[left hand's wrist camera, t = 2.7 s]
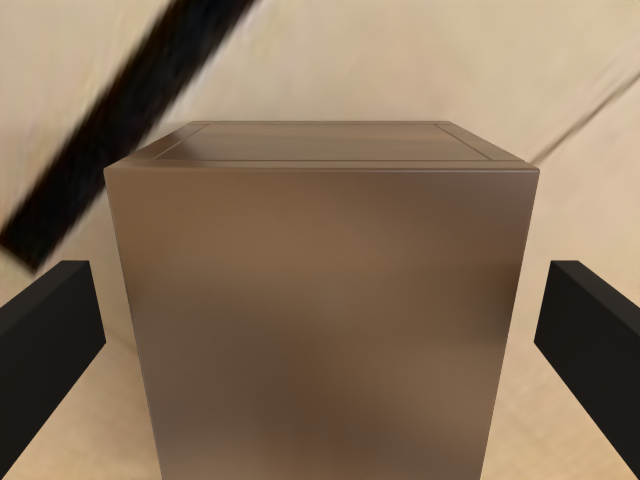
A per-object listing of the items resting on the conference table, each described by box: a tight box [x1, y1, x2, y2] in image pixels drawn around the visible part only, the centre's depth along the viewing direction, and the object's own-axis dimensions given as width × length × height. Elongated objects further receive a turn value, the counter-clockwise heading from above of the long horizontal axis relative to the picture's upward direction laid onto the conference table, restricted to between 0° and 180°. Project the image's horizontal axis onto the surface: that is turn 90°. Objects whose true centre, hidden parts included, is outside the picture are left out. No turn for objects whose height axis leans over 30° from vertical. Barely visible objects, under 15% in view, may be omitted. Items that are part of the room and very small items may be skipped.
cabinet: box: [104, 121, 540, 480], centre depth 19 cm, size 20×11×9 cm, turn 0°
